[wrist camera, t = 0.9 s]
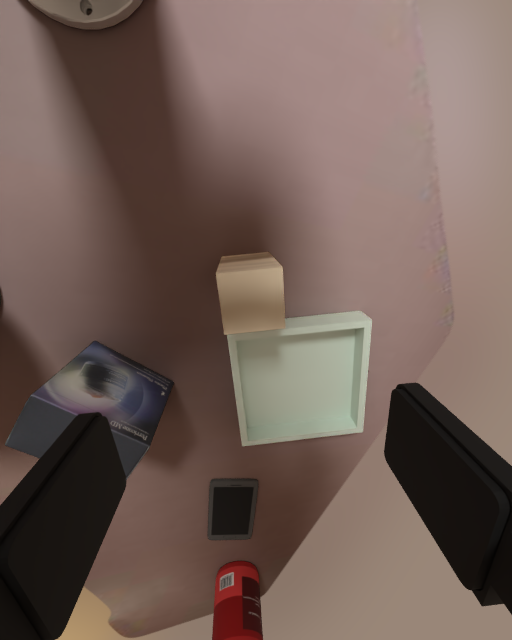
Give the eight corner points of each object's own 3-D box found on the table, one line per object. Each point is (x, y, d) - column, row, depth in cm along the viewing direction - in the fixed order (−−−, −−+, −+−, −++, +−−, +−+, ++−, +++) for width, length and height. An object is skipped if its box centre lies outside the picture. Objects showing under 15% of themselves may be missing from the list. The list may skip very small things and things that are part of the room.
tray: (227, 324, 31) (227, 335, 28) (360, 310, 31) (372, 319, 29) (241, 428, 37) (242, 446, 34) (353, 415, 37) (362, 432, 34)
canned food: (210, 583, 49) (204, 679, 39) (223, 557, 47) (219, 652, 37) (250, 587, 51) (253, 681, 41) (264, 562, 48) (271, 655, 38)
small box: (177, 379, 33) (153, 447, 23) (152, 415, 35) (120, 492, 25) (94, 336, 30) (28, 394, 21) (72, 378, 32) (0, 448, 22)
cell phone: (207, 536, 45) (207, 541, 44) (210, 476, 40) (209, 481, 39) (251, 535, 46) (251, 540, 45) (258, 476, 41) (259, 481, 40)
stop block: (221, 256, 28) (215, 273, 20) (268, 251, 28) (282, 267, 20) (227, 301, 30) (224, 334, 22) (271, 297, 30) (285, 328, 22)
